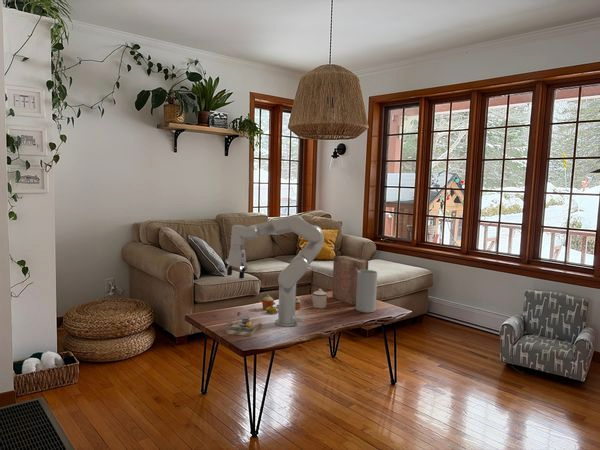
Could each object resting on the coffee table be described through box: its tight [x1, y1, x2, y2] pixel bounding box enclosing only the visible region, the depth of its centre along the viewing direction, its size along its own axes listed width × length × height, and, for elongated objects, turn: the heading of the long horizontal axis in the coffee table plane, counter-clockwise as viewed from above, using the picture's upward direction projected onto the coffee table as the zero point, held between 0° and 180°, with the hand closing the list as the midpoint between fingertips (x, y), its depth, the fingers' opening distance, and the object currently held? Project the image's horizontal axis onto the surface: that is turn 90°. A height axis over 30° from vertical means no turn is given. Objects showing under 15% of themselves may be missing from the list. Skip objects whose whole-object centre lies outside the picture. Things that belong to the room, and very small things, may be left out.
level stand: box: [225, 320, 263, 337], centre depth 250 cm, size 14×18×2 cm
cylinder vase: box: [355, 269, 378, 314], centre depth 295 cm, size 12×12×25 cm
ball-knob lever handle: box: [236, 311, 252, 328], centre depth 254 cm, size 23×6×4 cm, turn 22°
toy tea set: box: [259, 294, 302, 315], centre depth 291 cm, size 26×16×10 cm, turn 123°
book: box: [332, 254, 369, 307], centre depth 316 cm, size 25×9×30 cm, turn 35°
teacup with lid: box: [310, 288, 328, 309], centre depth 301 cm, size 12×9×12 cm
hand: (235, 276), depth 262 cm, fingers open, 9 cm apart
